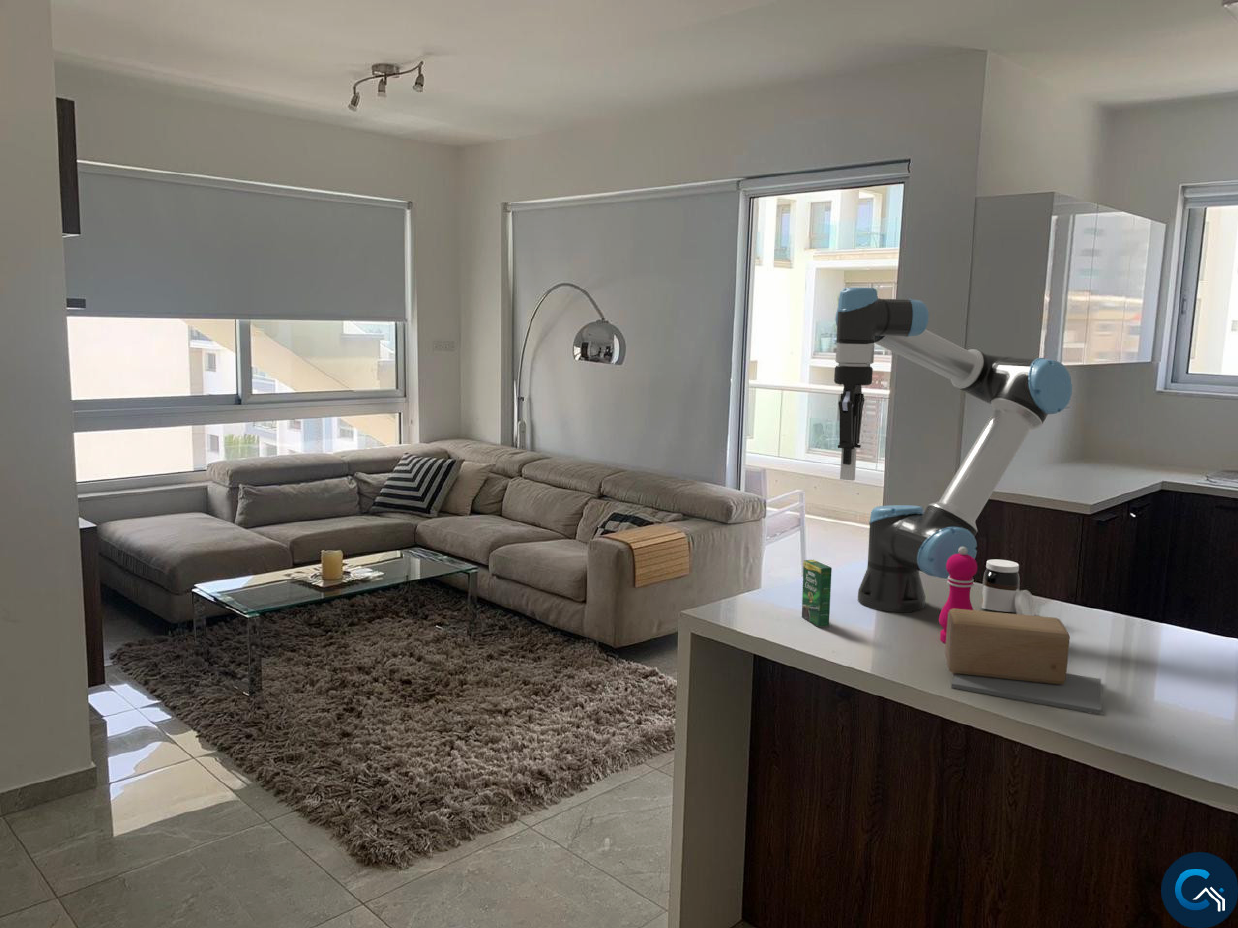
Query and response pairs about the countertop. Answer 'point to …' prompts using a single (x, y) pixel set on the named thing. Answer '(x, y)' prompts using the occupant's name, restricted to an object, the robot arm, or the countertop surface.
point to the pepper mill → (958, 585)
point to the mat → (1039, 690)
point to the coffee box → (816, 592)
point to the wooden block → (1007, 646)
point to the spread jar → (1005, 589)
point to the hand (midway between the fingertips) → (847, 479)
